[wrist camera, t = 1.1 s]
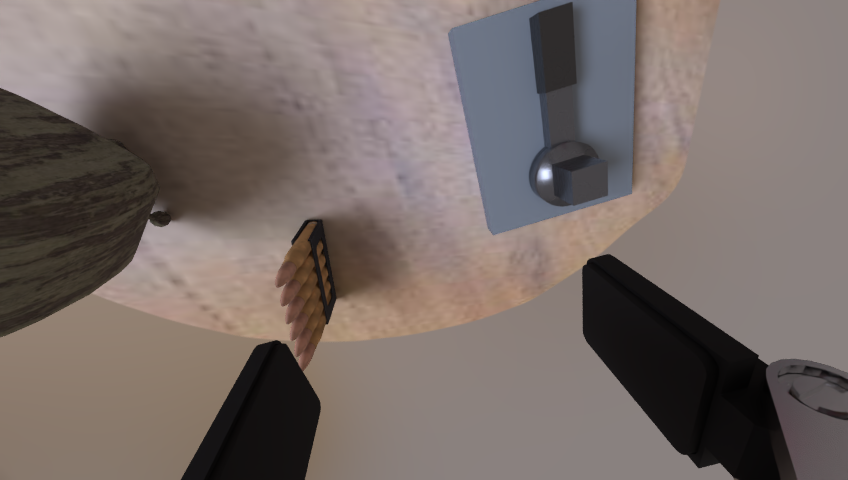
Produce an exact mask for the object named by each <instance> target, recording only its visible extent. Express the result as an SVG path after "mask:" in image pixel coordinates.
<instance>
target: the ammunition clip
mask: <svg viewBox="0 0 848 480" xmlns="http://www.w3.org/2000/svg"><path fill="white" fill-rule="evenodd" d="M291 242H292V247H291V249H290V250H289V251H288V253H287V254H286V256H285V260H284V262H283V264H282V266H281V268H280V269H279V271H278V273H277V276H276V280H275V285H276V287H277V288H278V287H281V286H283V285H284V284H286V285H285V287H284V289H283V291H282V294H281V300H280V303H281V306H285V305H287V304H289V305H288V308H287V311H286V317H285V321H286V324H289V323H291V322H292V321H293V322H292V325H291V330H290V339H291V341H293V340H295V339H296V342H295V350H294V351H295V356H296V357H298V356H299V355H300V358H299V366H300V368H301V369H302V371H304V369H305V368H306V367H307V366H308V364H309V362H310V361H311V359H312V357H313V354H314V351H315V349H316V347H317V344H318V342H319V341H320V339H321V336H322V333H323V330H324V327H325V324H328V323H329V320H330V317H331V314H332V311H333V307H334V304H335V301H336V293H335V288H334V282H333V277H332V272H331V266H330V261H329V255H328V250H327V244H326V239H325V234H324V228H323V223H322V220H307V221H305V222H304V223H303V225H302V226H301V228H300V229H299V231H298V232H297V234H296V235H295V237H294V238H293V240H292V241H291Z"/></svg>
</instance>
